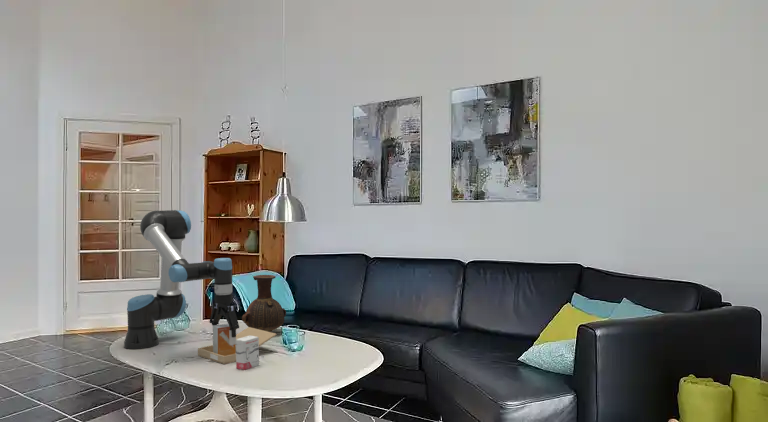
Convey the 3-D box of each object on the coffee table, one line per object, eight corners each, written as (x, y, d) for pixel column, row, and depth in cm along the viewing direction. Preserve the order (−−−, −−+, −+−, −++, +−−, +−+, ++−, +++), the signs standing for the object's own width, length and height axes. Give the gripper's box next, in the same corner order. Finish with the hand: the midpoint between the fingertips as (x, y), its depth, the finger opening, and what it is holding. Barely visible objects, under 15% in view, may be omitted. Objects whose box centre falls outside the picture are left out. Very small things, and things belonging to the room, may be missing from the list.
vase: (255, 341, 267) (254, 279, 267) (232, 335, 280) (232, 276, 280) (295, 332, 285) (295, 274, 285) (272, 327, 298) (271, 272, 298)
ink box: (244, 370, 219) (243, 340, 219) (235, 368, 222) (235, 339, 222) (259, 364, 227) (259, 336, 226) (251, 363, 229) (250, 335, 229)
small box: (217, 358, 235) (217, 328, 235) (212, 355, 240) (212, 325, 240) (236, 355, 240) (235, 325, 240) (230, 352, 245) (230, 323, 245)
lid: (248, 326, 262) (249, 328, 262) (224, 341, 252) (225, 343, 252) (276, 333, 247) (276, 335, 247) (251, 349, 237) (252, 351, 238)
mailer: (197, 355, 242) (197, 348, 242) (225, 349, 252) (224, 342, 252) (223, 364, 228) (223, 356, 228) (251, 357, 237) (251, 350, 237)
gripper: (201, 291, 245) (201, 339, 246) (231, 297, 228) (232, 348, 229) (216, 289, 251) (217, 336, 251) (247, 295, 234) (247, 345, 234)
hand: (224, 342), depth 240 cm, fingers open, 13 cm apart
